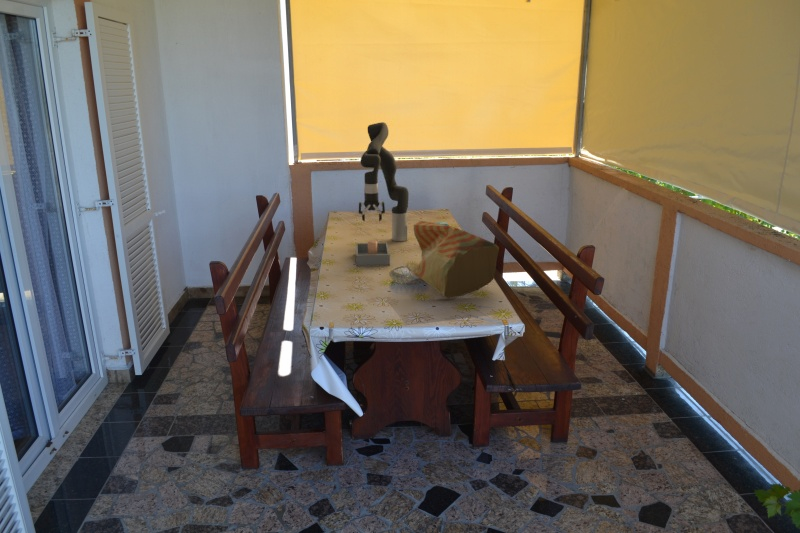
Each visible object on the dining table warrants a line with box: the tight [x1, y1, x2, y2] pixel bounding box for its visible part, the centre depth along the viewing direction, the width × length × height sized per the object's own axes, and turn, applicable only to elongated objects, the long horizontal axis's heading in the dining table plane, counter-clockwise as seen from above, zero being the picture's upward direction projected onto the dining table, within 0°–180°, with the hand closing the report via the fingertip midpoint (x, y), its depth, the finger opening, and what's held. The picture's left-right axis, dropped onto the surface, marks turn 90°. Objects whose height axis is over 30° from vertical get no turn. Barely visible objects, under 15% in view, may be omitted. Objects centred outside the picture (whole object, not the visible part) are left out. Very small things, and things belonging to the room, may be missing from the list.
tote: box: [355, 242, 391, 267], centre depth 354 cm, size 18×24×6 cm
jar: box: [367, 240, 378, 255], centre depth 354 cm, size 5×5×9 cm
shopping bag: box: [405, 220, 500, 299], centre depth 305 cm, size 36×32×40 cm
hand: (371, 220), depth 348 cm, fingers open, 8 cm apart
